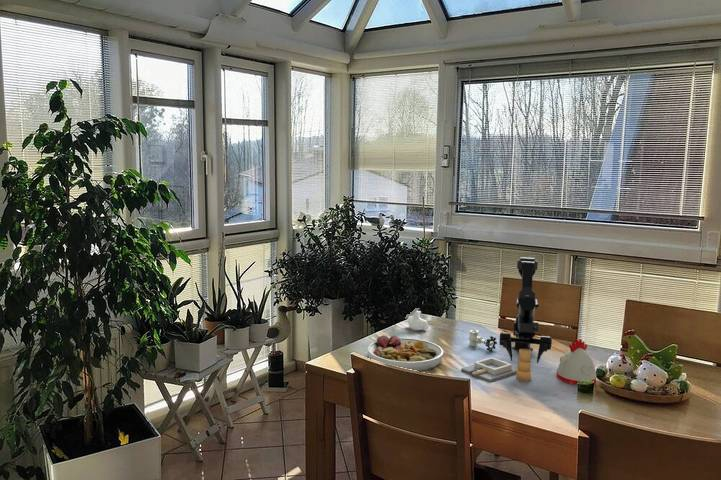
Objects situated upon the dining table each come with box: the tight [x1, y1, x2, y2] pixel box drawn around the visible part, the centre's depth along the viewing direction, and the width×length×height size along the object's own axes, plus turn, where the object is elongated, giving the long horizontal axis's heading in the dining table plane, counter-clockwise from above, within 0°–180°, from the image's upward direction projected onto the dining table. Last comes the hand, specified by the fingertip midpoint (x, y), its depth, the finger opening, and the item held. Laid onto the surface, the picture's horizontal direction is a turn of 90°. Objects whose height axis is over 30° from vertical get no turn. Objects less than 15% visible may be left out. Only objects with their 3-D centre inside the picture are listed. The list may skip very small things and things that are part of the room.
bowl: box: [367, 334, 444, 372], centre depth 240 cm, size 30×30×8 cm
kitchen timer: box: [556, 338, 597, 386], centre depth 223 cm, size 14×14×15 cm
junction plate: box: [460, 356, 518, 383], centre depth 230 cm, size 21×14×3 cm, turn 127°
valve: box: [468, 329, 498, 353], centre depth 257 cm, size 7×7×12 cm
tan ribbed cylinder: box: [515, 349, 532, 382], centre depth 222 cm, size 5×5×11 cm
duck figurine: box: [406, 309, 429, 331], centre depth 282 cm, size 12×8×11 cm
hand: (524, 361), depth 221 cm, fingers open, 9 cm apart
